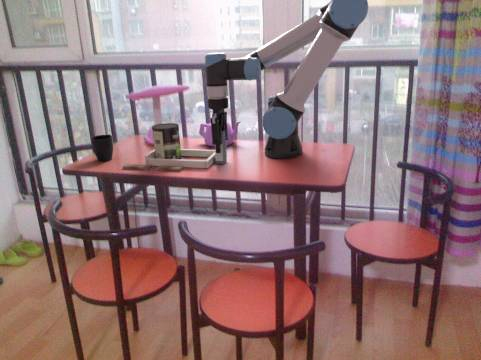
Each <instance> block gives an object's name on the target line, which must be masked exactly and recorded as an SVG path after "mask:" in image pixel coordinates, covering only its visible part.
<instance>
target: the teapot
mask: <svg viewBox="0 0 481 360" xmlns="http://www.w3.org/2000/svg"><path fill="white" fill-rule="evenodd" d="M240 123H241V121H236V122H235V123H234V125H233V127H232V126H231V124H230V122H228V121H227V135H228V137H226V138H228V140H226V147H228V146H230V145H231V144H233V143H234V141H235V138H236V137H237V136H238V132H239V131H238V127H239V124H240ZM205 128H206V129H205ZM198 132H199V133H198V134H199V136H201V137H203V139H204V144H206V146H208V147H213V148H215V144H212V130H211V122H210V123H205V122H204V123H203V122H201V123H200V126H199V131H198Z"/></svg>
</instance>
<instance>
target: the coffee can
mask: <svg viewBox="0 0 481 360" xmlns="http://www.w3.org/2000/svg"><path fill="white" fill-rule="evenodd" d="M151 130H152V138H153V145H154V147H153V148H154V149H155V155H156V159H181V160H183V158H182V157H183V156H181V149H182V148H181V139H180V124H178V123H174V122H173V123H172V122H169V123H168V122H166V123H158V124H155V125H154V124H153V125H152V126H151Z"/></svg>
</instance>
